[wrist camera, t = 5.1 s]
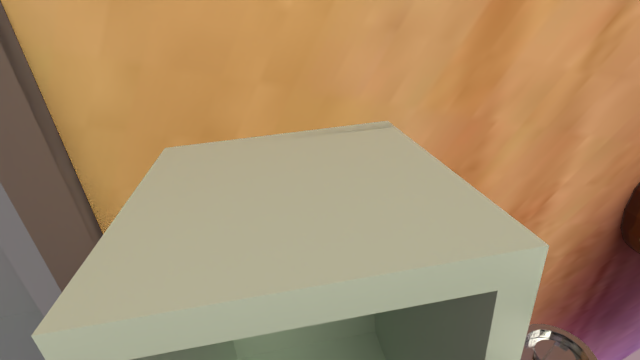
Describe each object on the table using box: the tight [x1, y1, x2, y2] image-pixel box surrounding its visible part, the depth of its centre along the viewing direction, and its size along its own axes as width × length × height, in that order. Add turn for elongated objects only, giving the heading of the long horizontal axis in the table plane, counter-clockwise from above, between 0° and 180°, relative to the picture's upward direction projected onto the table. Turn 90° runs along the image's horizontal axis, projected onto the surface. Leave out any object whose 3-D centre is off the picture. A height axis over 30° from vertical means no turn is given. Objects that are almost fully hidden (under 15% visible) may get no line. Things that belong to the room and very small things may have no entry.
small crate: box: [31, 121, 549, 360], centre depth 8 cm, size 6×8×6 cm
